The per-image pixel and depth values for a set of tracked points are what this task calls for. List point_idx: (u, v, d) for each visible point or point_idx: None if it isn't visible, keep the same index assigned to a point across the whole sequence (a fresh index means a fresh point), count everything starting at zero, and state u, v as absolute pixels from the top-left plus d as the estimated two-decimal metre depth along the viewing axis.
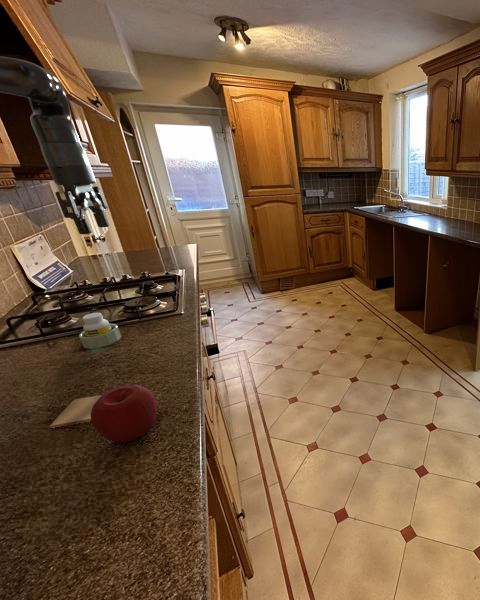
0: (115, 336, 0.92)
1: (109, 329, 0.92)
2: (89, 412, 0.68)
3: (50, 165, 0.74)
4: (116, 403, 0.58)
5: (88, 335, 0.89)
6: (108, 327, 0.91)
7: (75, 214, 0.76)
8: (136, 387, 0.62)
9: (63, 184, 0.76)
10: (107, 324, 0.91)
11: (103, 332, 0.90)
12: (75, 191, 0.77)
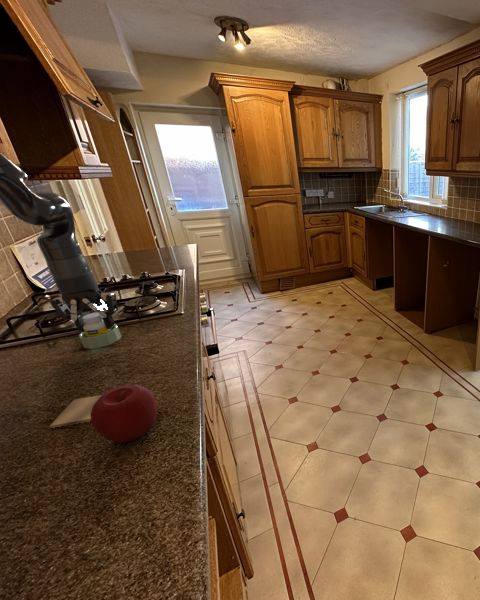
0: (115, 336, 0.92)
1: (109, 329, 0.92)
2: (89, 412, 0.68)
3: None
4: (116, 403, 0.58)
5: (88, 335, 0.89)
6: None
7: (62, 318, 0.86)
8: (136, 387, 0.62)
9: None
10: None
11: (103, 332, 0.90)
12: (62, 298, 0.85)
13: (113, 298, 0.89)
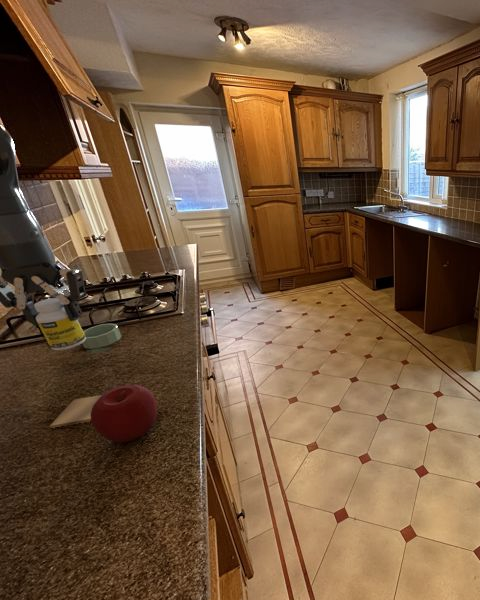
0: (115, 336, 0.92)
1: None
2: (89, 412, 0.68)
3: None
4: (116, 403, 0.58)
5: (43, 329, 0.63)
6: None
7: None
8: (136, 387, 0.62)
9: None
10: None
11: (65, 325, 0.64)
12: (2, 275, 0.59)
13: (78, 277, 0.63)
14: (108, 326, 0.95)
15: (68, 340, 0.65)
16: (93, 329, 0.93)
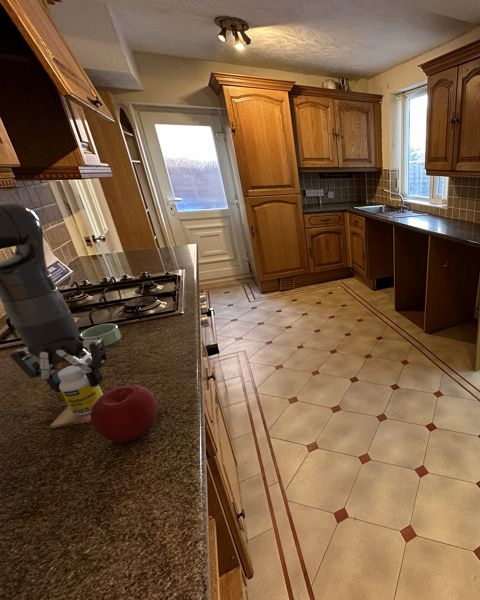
0: (115, 336, 0.92)
1: None
2: None
3: None
4: (116, 403, 0.58)
5: (66, 397, 0.65)
6: None
7: None
8: (136, 387, 0.62)
9: None
10: None
11: (86, 392, 0.66)
12: (29, 349, 0.61)
13: (100, 346, 0.65)
14: (108, 326, 0.95)
15: (89, 406, 0.67)
16: (93, 329, 0.93)
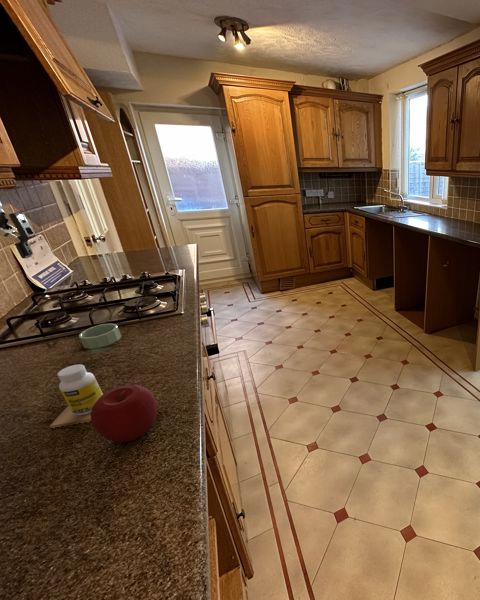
0: (115, 336, 0.92)
1: (95, 386, 0.68)
2: None
3: None
4: (116, 403, 0.58)
5: (66, 397, 0.65)
6: (93, 384, 0.67)
7: None
8: (136, 387, 0.62)
9: None
10: (92, 380, 0.67)
11: (86, 392, 0.66)
12: None
13: (21, 218, 0.74)
14: (108, 326, 0.95)
15: (89, 406, 0.67)
16: (93, 329, 0.93)
